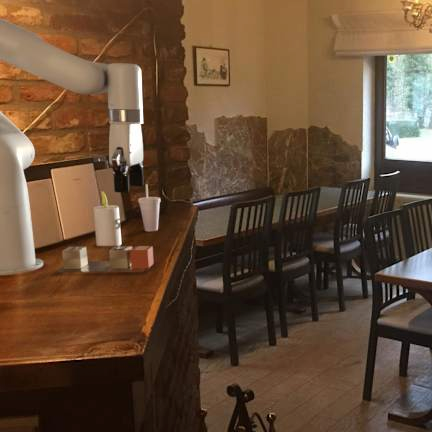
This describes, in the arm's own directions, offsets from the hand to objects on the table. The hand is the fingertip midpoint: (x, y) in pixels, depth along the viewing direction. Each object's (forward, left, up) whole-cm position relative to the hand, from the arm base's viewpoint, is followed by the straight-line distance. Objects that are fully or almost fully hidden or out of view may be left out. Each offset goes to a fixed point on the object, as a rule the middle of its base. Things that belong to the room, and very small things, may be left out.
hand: (129, 188), depth 151 cm
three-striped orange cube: (+3, -5, -18) cm, 19 cm away
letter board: (-5, -5, -19) cm, 20 cm away
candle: (-13, +18, -19) cm, 29 cm away
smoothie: (-7, +36, -19) cm, 41 cm away
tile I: (-12, -5, -18) cm, 22 cm away
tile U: (-1, -5, -18) cm, 19 cm away
